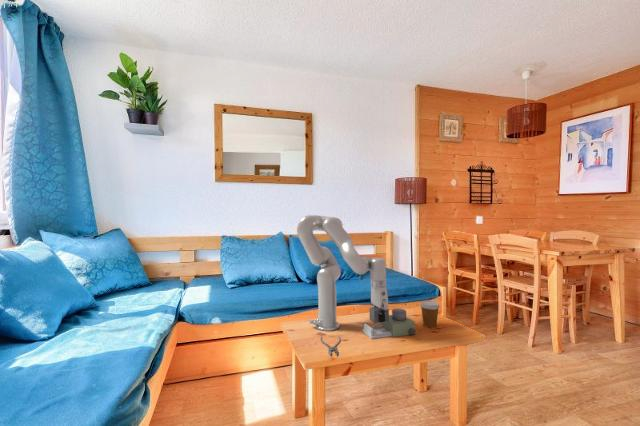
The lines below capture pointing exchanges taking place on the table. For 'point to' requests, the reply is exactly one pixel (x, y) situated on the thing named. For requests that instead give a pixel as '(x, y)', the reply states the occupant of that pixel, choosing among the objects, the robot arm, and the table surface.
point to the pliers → (332, 347)
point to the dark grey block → (377, 314)
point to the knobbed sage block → (392, 326)
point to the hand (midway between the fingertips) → (379, 319)
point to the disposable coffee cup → (429, 313)
